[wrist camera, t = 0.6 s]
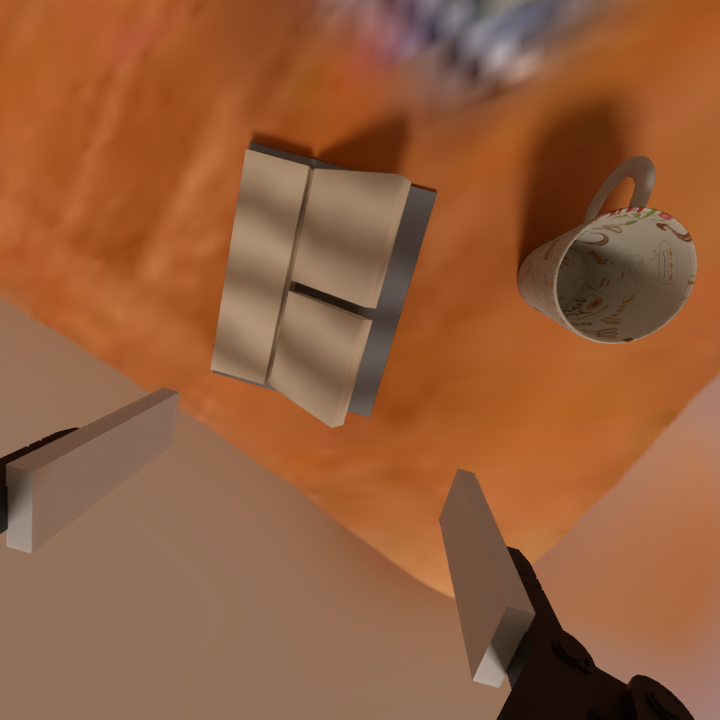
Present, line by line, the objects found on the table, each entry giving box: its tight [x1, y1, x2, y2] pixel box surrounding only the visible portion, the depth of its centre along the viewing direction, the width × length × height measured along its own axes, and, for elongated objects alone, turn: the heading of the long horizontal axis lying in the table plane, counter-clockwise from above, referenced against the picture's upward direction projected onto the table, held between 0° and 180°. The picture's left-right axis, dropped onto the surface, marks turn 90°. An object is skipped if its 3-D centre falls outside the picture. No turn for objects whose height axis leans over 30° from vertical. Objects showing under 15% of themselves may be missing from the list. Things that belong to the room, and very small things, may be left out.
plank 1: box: [291, 169, 411, 309], centre depth 28 cm, size 10×9×2 cm
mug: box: [518, 156, 697, 344], centre depth 26 cm, size 8×13×10 cm, turn 168°
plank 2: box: [269, 291, 372, 428], centre depth 31 cm, size 10×9×2 cm
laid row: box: [211, 142, 437, 417], centre depth 32 cm, size 22×17×2 cm
